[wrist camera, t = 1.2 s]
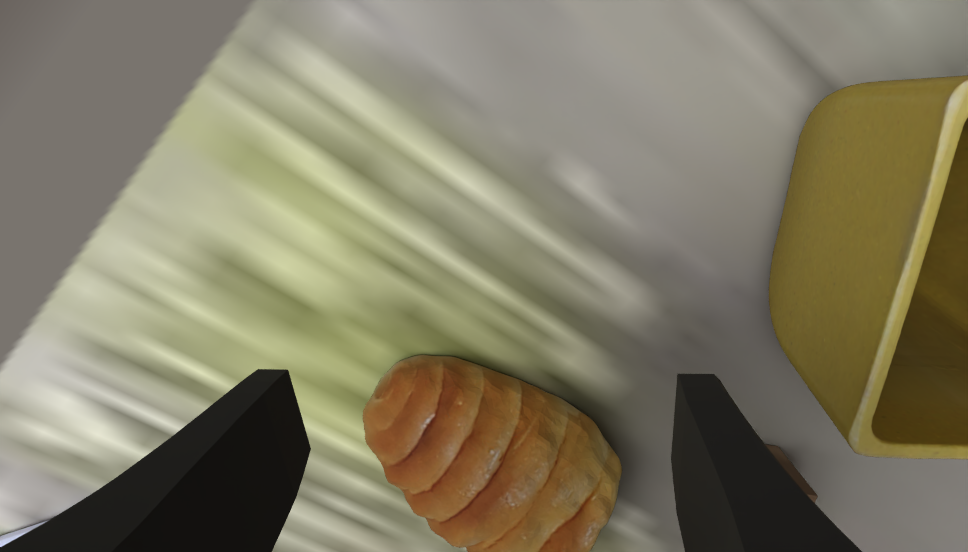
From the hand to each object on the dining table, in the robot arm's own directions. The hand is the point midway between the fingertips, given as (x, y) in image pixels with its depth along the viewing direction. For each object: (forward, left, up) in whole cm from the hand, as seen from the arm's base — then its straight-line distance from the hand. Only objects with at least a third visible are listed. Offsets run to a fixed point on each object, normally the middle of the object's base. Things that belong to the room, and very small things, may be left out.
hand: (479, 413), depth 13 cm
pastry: (-2, -8, -11) cm, 14 cm away
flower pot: (+13, -3, -11) cm, 18 cm away
